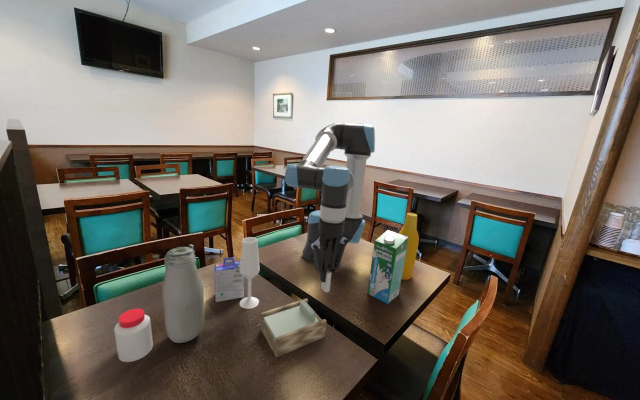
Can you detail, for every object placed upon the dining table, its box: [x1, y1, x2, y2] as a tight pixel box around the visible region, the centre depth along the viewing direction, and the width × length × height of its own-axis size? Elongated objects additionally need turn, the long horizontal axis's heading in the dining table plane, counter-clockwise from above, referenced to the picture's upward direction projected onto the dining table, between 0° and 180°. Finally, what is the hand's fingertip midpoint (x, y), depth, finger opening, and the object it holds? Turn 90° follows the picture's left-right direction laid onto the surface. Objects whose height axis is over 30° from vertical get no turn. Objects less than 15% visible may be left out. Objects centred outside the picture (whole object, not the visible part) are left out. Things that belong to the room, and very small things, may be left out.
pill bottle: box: [113, 308, 154, 363], centre depth 70 cm, size 8×8×11 cm
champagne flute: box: [239, 236, 261, 310], centre depth 91 cm, size 7×7×24 cm
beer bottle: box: [398, 212, 420, 281], centre depth 117 cm, size 9×9×29 cm
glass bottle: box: [161, 246, 205, 344], centre depth 73 cm, size 10×10×28 cm
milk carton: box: [367, 229, 409, 305], centre depth 102 cm, size 9×9×25 cm
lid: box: [264, 299, 318, 341], centre depth 80 cm, size 14×9×4 cm
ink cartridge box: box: [214, 256, 245, 303], centre depth 95 cm, size 10×6×14 cm, turn 113°
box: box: [260, 297, 327, 358], centre depth 81 cm, size 16×12×6 cm
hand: (325, 289), depth 84 cm, fingers closed
